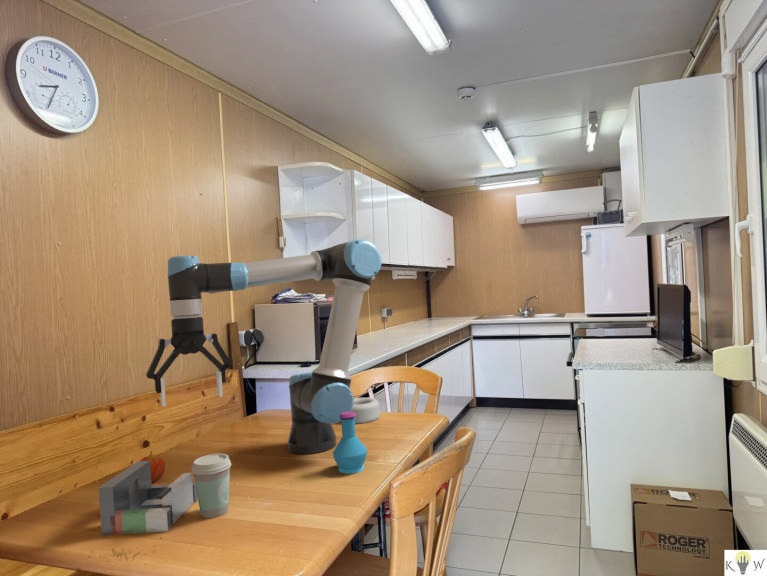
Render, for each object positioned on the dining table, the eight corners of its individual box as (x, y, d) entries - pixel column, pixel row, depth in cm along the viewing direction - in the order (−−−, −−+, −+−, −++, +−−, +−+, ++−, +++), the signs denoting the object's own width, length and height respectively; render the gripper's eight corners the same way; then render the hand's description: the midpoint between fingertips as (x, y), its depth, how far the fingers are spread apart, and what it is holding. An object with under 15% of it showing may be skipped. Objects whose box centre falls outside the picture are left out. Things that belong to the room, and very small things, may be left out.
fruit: (147, 488, 129) (145, 457, 129) (132, 484, 133) (130, 454, 133) (171, 478, 135) (169, 449, 135) (156, 475, 139) (154, 446, 139)
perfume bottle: (373, 463, 136) (369, 409, 136) (360, 476, 127) (356, 417, 127) (342, 462, 139) (338, 408, 139) (328, 474, 130) (324, 417, 130)
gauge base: (197, 499, 120) (195, 457, 120) (167, 531, 104) (164, 483, 104) (140, 502, 120) (137, 461, 120) (101, 535, 104) (98, 487, 104)
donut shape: (342, 426, 176) (341, 407, 176) (337, 416, 191) (336, 399, 191) (383, 421, 179) (382, 403, 179) (376, 412, 194) (374, 395, 194)
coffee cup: (222, 521, 107) (218, 466, 107) (186, 520, 108) (182, 465, 108) (241, 504, 115) (237, 452, 115) (207, 503, 117) (204, 452, 117)
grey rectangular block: (193, 502, 117) (191, 471, 117) (166, 531, 103) (164, 495, 103) (155, 504, 118) (153, 473, 118) (124, 533, 104) (121, 498, 104)
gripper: (232, 312, 135) (238, 390, 135) (130, 321, 123) (136, 407, 122) (240, 313, 129) (245, 394, 129) (133, 321, 116) (139, 412, 116)
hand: (192, 400), depth 126 cm, fingers open, 13 cm apart
